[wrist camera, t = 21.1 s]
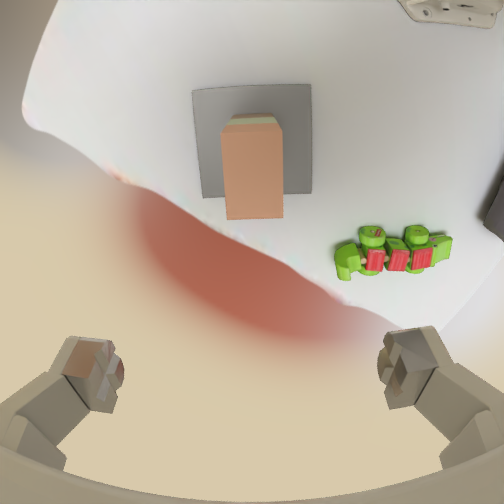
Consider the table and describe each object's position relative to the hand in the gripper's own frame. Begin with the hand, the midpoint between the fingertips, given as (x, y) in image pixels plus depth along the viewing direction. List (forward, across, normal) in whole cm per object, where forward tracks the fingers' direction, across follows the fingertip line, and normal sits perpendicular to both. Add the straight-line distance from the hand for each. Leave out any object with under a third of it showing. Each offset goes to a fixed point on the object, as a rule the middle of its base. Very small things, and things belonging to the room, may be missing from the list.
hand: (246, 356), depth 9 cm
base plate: (+33, 0, 0) cm, 33 cm away
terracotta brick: (+22, 0, 0) cm, 22 cm away
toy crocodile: (+34, -20, +16) cm, 42 cm away
